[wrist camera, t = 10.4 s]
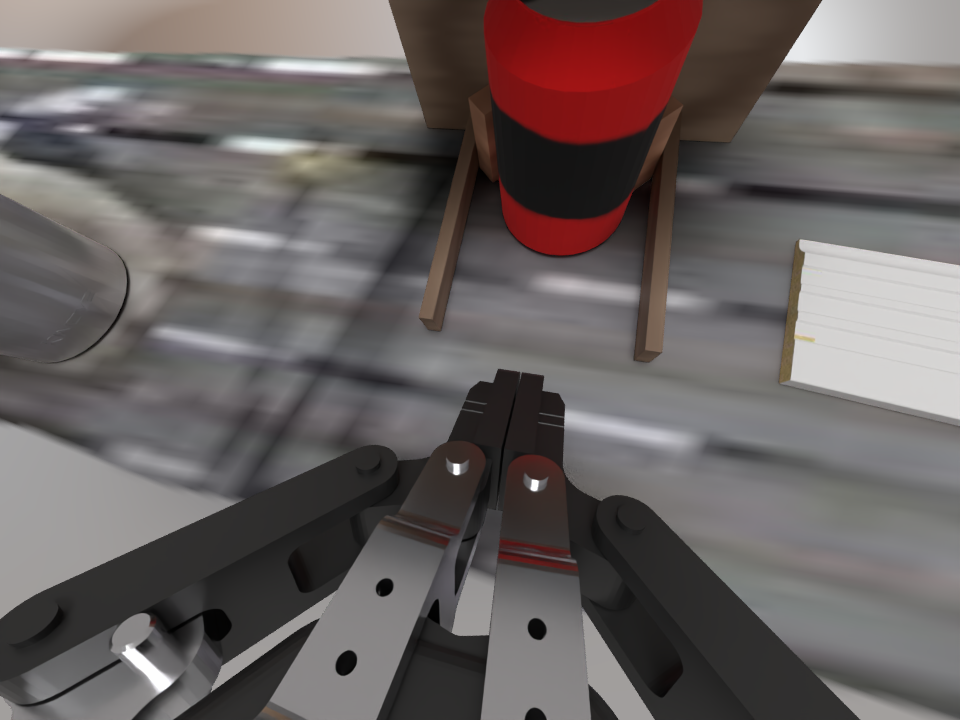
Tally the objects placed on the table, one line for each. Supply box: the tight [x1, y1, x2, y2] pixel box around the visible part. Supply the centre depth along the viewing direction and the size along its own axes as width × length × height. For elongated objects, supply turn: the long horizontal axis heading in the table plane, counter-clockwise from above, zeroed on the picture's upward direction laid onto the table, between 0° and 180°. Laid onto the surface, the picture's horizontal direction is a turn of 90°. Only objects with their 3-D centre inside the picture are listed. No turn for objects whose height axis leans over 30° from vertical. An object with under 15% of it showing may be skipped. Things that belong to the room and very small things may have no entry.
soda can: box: [484, 0, 703, 255], centre depth 17 cm, size 8×8×12 cm
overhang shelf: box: [389, 0, 822, 362], centre depth 14 cm, size 20×17×19 cm
